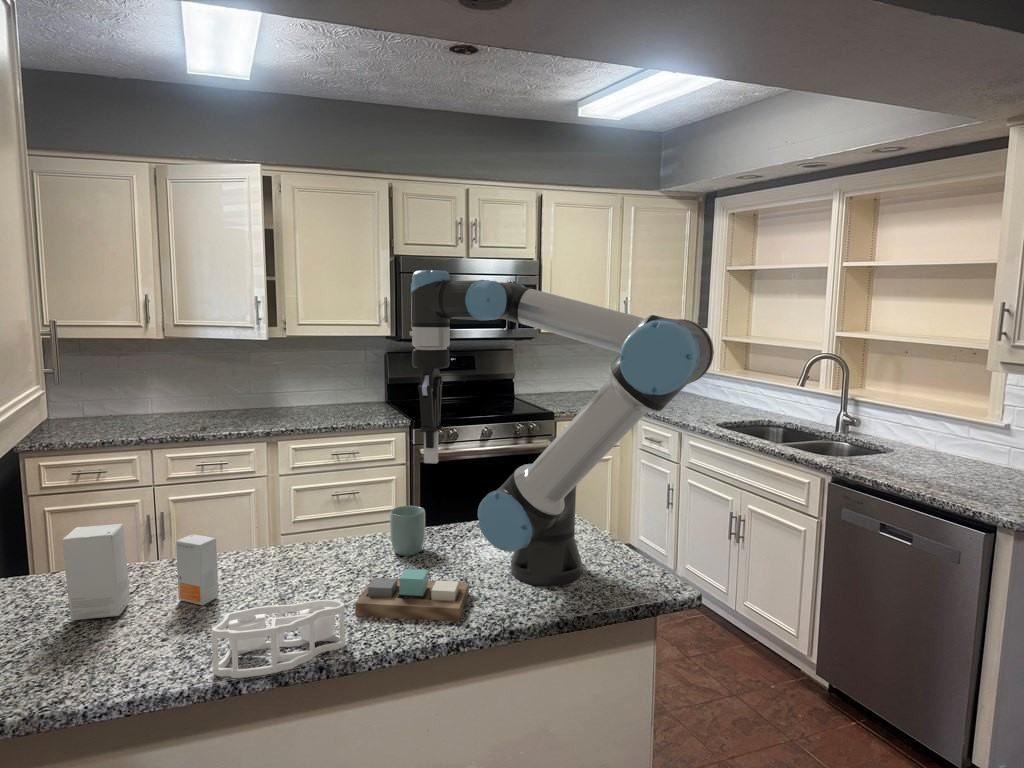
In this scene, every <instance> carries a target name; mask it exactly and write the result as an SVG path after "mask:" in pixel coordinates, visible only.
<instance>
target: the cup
mask: <svg viewBox="0 0 1024 768" xmlns="http://www.w3.org/2000/svg"><path fill="white" fill-rule="evenodd" d="M389 529H390V530H389V532H390V533H389V534H390V541H391V546H392V549H393V551H394V553H396V554H397V555H399V556H406V557H409V556H411V557H412V556H415V555H417V554H419V553H420V552H421V551H422V549H423V547H424V543H425V539H426V510H425V508H424V507H420V506H417V505H401V506H397V507H394V508H392V509H391V511H390V514H389Z"/></svg>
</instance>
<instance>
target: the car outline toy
mask: <svg viewBox="0 0 1024 768" xmlns="http://www.w3.org/2000/svg"><path fill="white" fill-rule="evenodd" d="M345 605H346V604H345V602H343V601H340V600H337V599H315V600H309V601H305V602H300V603H294V604H277V605H265V606H256V607H251V608H247V609H243V610H237V611H233V612H229V613H226V614H225V615H224V618H223V619H222V620H221V621H220V622H219V623H218V624H216V625H215V626H213V627H212V628H211V652H212V653H211V654H212V672H213V674H214V675H215V676H216V677H221V678H222V677H223V678H224V677H230V678H231V679H243V678H250V677H258V676H266V675H270V674H271V675H272V674H278V673H279V672H282V671H283V672H284V671H287V670H293V669H294V668H296V667H297V666H300V665H302V664H304V663H308V662H309V661H311V660H312V659H313V658H315V657H316V656H318V655H319V654H321V653H324V652H325V653H326V652H329V651H334V650H339V649H342V648H343V647H345V646H346V625H345V609H346V608H345ZM293 612H294V613H295V612H299V614H297V615H288V616H284V614H285V613H293ZM277 613H278V615H277V616H278V617H274V618H272V619H271V626H270V627H266V626H267V625H266V615H267V614H277ZM336 615H339V635H338V634H335V631H336V622H335V621H336V618H335V617H336ZM227 627H228V629H226V628H227ZM298 628H299V636H300V638H295V639H285V634H286V633H290V632H293V631H295V630H297V629H298ZM267 637H270V641H269V640H268V641H267ZM218 639H228V644H229V645H228V647H229V648H230V649H229V650H227V651H226V653H225V656H224V657H223V658H222V659H221V660H220V661H219V647H218V644H219V643H218ZM316 642H333V643H327V644H322V645H319V646H317V647H316V646H315V645H316ZM307 644H309V649H308V650H299V651H292V652H285V653H281V652H280V650H281V649H280V648H285V647H287V648H288V647H297V646H302V645H307ZM264 649H270V652H271V653H270V655H271V656H270V657H271V665H265V666H258V667H251V668H250V667H249V668H239V658H238V657H239V655H243V654H246V653H250V652H254V651H257V650H264ZM230 662H231V665H232V667H227V666H228V664H229V663H230Z"/></svg>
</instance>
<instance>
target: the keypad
mask: <svg viewBox="0 0 1024 768" xmlns="http://www.w3.org/2000/svg"><path fill="white" fill-rule="evenodd" d="M373 580H374V578H372V579H371V581H370V582H369V583H368V585H367V586H366V588H365V589H364V591H363V592H362V593H361V594H360V595H359V597H358V598H357V600H356V602H355V605H354V606H355V614H354V615H355V617H365V618H366V617H367V618H381V619H382V618H384V619H405V620H408V619H409V620H423V621H426V620H427V621H445V622H446V621H450V622H460V621H461V617H462V615H463V612H464V609H465V606H466V603H467V600H468V598H469V594H470V593H469V591H470V590H469V583H468V582H459V596H458V599H457V601H443V600H431V590H432V588H433V586H434V584H435V582H436V581H434V580H432V581H429V580H428V587H427V589H426V591H425V593H424V595H423V596H414V595H400V579H397V592H396V593H395V595H394V597H393V598H384V597H368V587H369V585H370V584H371V582H372V581H373Z"/></svg>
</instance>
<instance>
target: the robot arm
mask: <svg viewBox="0 0 1024 768" xmlns="http://www.w3.org/2000/svg"><path fill="white" fill-rule="evenodd" d="M411 280H412V281H411V290H410V294H411V296H410V297H411V313H412V314H411V316H412V317H411V318H412V322H411V327H412V329H411V331H409V333H408V334H409V336H411V339H412V341H411V345H412V346H413V347H415V348H413V350H412V351H411V365H412V368H415V369H421V370H422V371H421V376H420V377H419V384H418V387H417V390H418V396H419V412H420V413H419V414H420V429H419V432H420V433H423V464H438V463H439V431H443V426H441V421H442V420H441V415H442V413H441V411H442V393H443V392H442V391H443V384H444V381H443V376H442V375H441V373H440V369H441V370H442V369H447V368H449V366H450V350H449V347H450V346H451V341H450V339H451V338H450V337H451V335H450V334H451V332H450V331H451V330H450V329H451V328H450V327H451V326H450V321H451V320H455V319H456V320H469V321H470V320H473V321H482V322H483V321H490V320H491V321H494V320H507V321H510V322H513V323H516V324H520V325H523V326H524V325H525V326H528V327H532V328H535V329H537V330H542V331H545V332H549V333H552V334H556V335H557V336H562V337H564V338H565V337H566V338H569V339H572V340H576V341H578V342H582V343H586V344H590V345H591V346H595V347H599V348H603V349H607V350H609V351H613V352H616V353H619V355H618V356H617V357H616V358H615V359H614V360H613V361H612V363H610V364H609V366H608V371H609V379H608V380H607V381H606V382H605V383H604V384H603V386H602V387H601V388H600V389H599V390H598V391H597V392H596V393H595V395H594V396H593V397H591V399H590V400H589V401H588V402H587V403H586V404H585V405H584V406H583V408H581V410H580V411H578V413H577V414H576V415H575V416H574V417H573V418H572V420H571V421H570V422H569V423H568V424H567V425H566V426H565V427H564V428H563V430H561V432H560V433H559V434H558V435H557V436H556V437H555V438H554V439H553V440H552V441H551V443H550V444H549V445H548V446H547V447H546V448H545V449H544V450H543V452H542V453H540V455H539V456H538V457H537V458H536V459H535V461H533V463H528V464H523V465H521V466H519V467H518V468H516V469H515V470H514V472H513V473H512V474H511V475H510V476H509V477H508V478H507V479H506V481H505V482H504V483H503V484H501V486H500V487H499V488H497V489H496V490H493V491H490V492H488V493H487V494H486V496H485V497H483V498H482V500H481V502H480V503H479V505H478V508H477V518H478V527H479V529H480V531H481V533H482V535H483V537H484V538H485V539H486V541H488V543H489V544H490V545H492V546H493V547H494V548H496V549H498V550H499V551H503V552H504V551H505V552H510V553H511V552H513V554H512V557H511V561H510V572H511V575H512V576H513V577H514V578H516V580H519V581H521V582H524V583H527V584H530V585H536V586H544V587H551V586H552V587H553V586H554V587H556V586H562V585H566V584H567V585H568V584H571V583H574V582H576V581H577V580H579V579H580V578H581V577H582V574H583V562H582V558H581V555H580V554H581V553H580V552H579V548H578V545H577V541H576V539H575V538H576V537H575V534H576V533H575V530H576V529H575V528H576V527H575V525H576V502H577V501H576V499H577V498H576V495H577V494H576V493H577V486H578V484H579V483H580V482H581V481H582V480H583V479H584V478H585V477H586V476H587V475H588V474H589V473H590V472H591V471H592V470H593V468H594V467H596V465H597V464H598V463H600V461H602V459H603V458H604V457H606V455H607V454H608V453H609V452H610V451H611V450H612V449H613V448H614V447H615V446H616V445H617V444H618V443H619V442H620V441H621V440H622V439H623V438H624V437H625V436H626V434H627V433H629V431H631V430H632V429H633V427H634V426H635V425H637V423H638V422H639V421H640V420H641V419H642V418H643V417H644V416H645V415H646V414H648V413H660V412H661V411H662V410H663V409H664V408H665V407H666V406H667V405H668V404H669V403H670V402H671V401H672V400H673V399H674V398H675V397H676V396H677V395H678V394H679V393H680V392H682V390H683V389H684V388H685V387H686V386H687V385H689V384H692V383H693V382H697V381H698V380H700V379H701V378H702V377H703V376H704V375H705V374H706V373H707V372H708V371H709V369H710V367H711V365H712V363H713V361H714V353H715V352H714V351H715V350H714V349H715V348H714V344H713V343H714V342H713V340H712V338H711V336H710V334H709V333H708V332H707V330H706V329H705V328H704V327H703V326H701V325H700V324H699V323H697V322H694V321H692V320H689V319H682V318H681V319H680V318H678V319H677V318H668V317H663V316H659V315H654V314H650V315H648V316H647V317H641V316H637V315H634V314H630V313H626V312H621V311H618V310H614V309H611V308H607V307H603V306H599V305H595V304H592V303H588V302H584V301H579V300H575V299H572V298H569V297H565V296H562V295H561V296H560V295H558V294H552V293H549V292H545V291H541V290H538V289H533V288H529V287H526V286H524V284H521V283H517V282H513V281H508V282H499V281H496V280H490V279H479V280H478V279H477V280H476V279H475V280H474V279H473V280H451V278H450V272H449V271H447V270H427V269H425V270H416V271H414V272H413V274H412V277H411Z"/></svg>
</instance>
